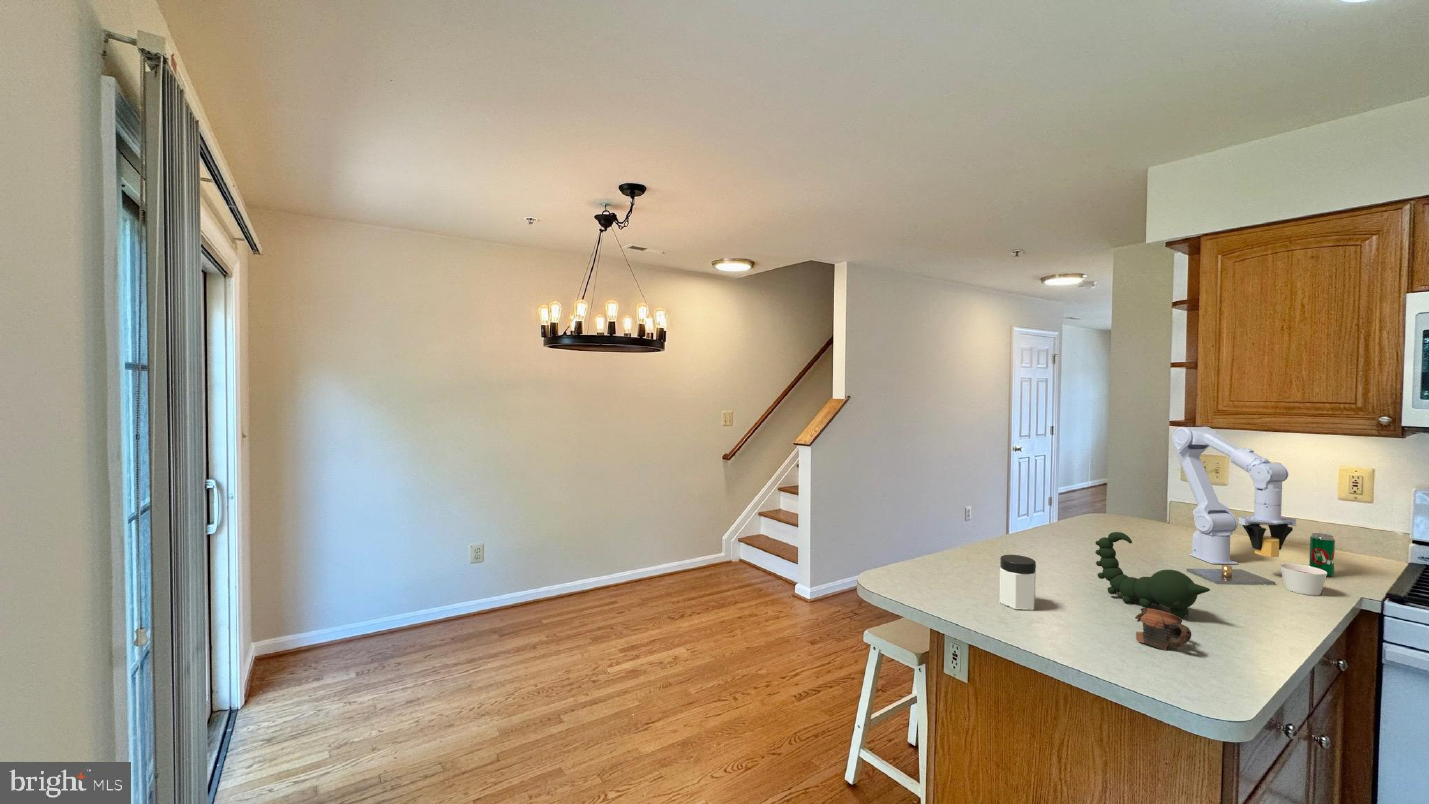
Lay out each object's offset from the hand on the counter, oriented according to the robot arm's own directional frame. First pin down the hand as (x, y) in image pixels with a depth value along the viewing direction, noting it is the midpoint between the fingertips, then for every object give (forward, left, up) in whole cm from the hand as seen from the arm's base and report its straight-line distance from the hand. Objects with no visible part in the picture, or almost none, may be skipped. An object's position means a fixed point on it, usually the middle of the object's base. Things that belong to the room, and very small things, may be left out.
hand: (1266, 549), depth 165 cm
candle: (+11, 0, -9) cm, 14 cm away
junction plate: (+1, -11, -8) cm, 14 cm away
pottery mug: (+45, -61, -9) cm, 77 cm away
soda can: (-3, +19, -9) cm, 21 cm away
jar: (+25, -83, -9) cm, 87 cm away
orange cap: (0, 0, -2) cm, 2 cm away
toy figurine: (+25, -50, -9) cm, 57 cm away
